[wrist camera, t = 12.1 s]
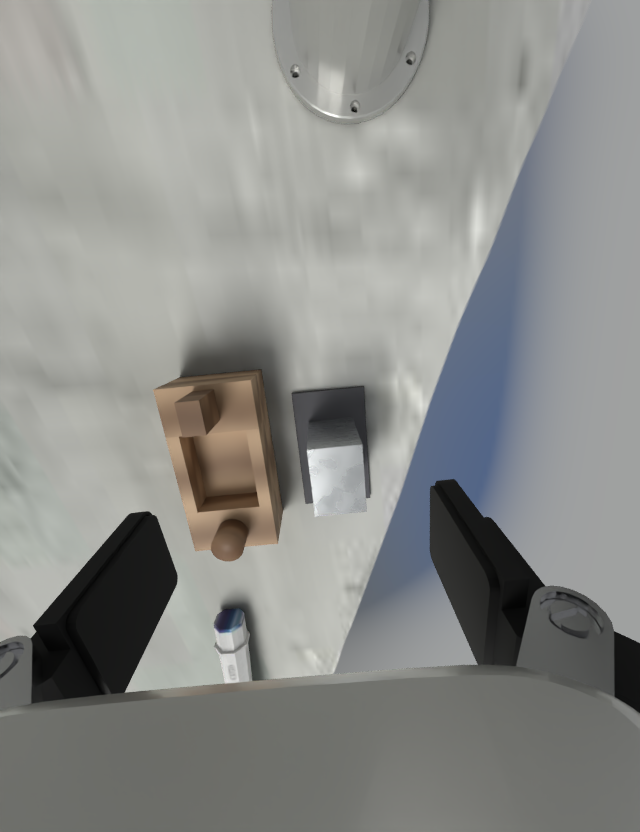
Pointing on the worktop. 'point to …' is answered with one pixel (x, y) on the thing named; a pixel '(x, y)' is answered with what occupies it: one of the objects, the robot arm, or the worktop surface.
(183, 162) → the worktop surface
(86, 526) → the worktop surface
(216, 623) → the electric toothbrush
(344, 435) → the silver block
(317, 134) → the worktop surface
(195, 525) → the body
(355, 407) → the rubber mat
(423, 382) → the worktop surface
